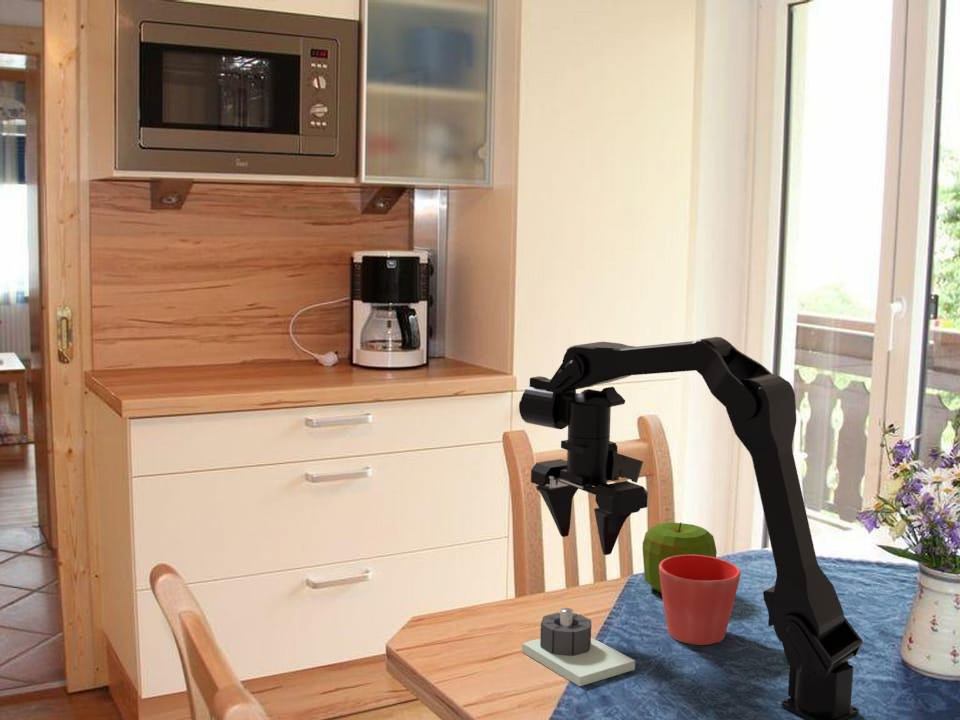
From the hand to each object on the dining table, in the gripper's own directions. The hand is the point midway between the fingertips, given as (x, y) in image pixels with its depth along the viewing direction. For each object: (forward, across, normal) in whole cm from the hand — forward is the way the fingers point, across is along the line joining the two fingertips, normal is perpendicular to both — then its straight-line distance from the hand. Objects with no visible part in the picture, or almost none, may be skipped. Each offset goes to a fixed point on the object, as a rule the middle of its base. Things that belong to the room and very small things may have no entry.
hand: (585, 545), depth 147 cm
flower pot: (+12, -10, -12) cm, 20 cm away
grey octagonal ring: (+11, -6, +8) cm, 14 cm away
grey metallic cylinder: (+12, -6, +8) cm, 15 cm away
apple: (+12, +4, -22) cm, 25 cm away
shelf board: (+12, -8, +8) cm, 16 cm away
